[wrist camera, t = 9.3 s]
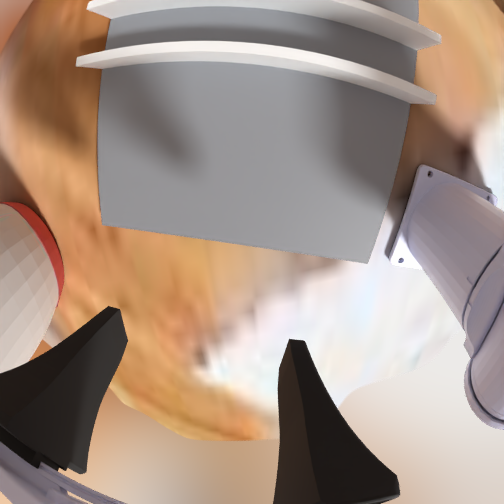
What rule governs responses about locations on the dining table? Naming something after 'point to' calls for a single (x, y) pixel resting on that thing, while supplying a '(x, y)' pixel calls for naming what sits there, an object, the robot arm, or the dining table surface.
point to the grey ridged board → (256, 118)
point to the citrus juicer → (26, 283)
